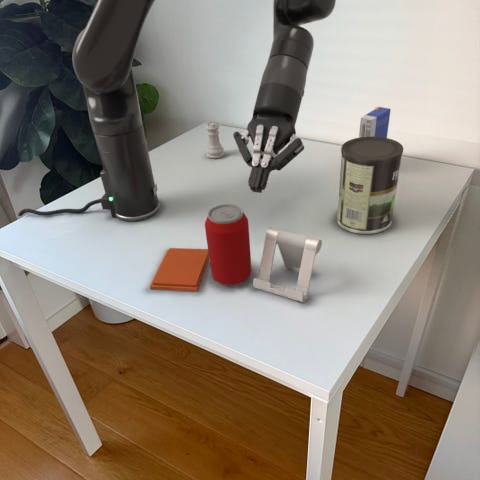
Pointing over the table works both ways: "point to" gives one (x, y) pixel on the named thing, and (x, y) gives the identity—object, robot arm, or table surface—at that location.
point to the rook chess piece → (214, 141)
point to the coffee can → (368, 184)
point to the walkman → (375, 123)
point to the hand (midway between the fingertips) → (255, 190)
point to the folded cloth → (181, 270)
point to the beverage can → (228, 244)
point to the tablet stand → (288, 261)
